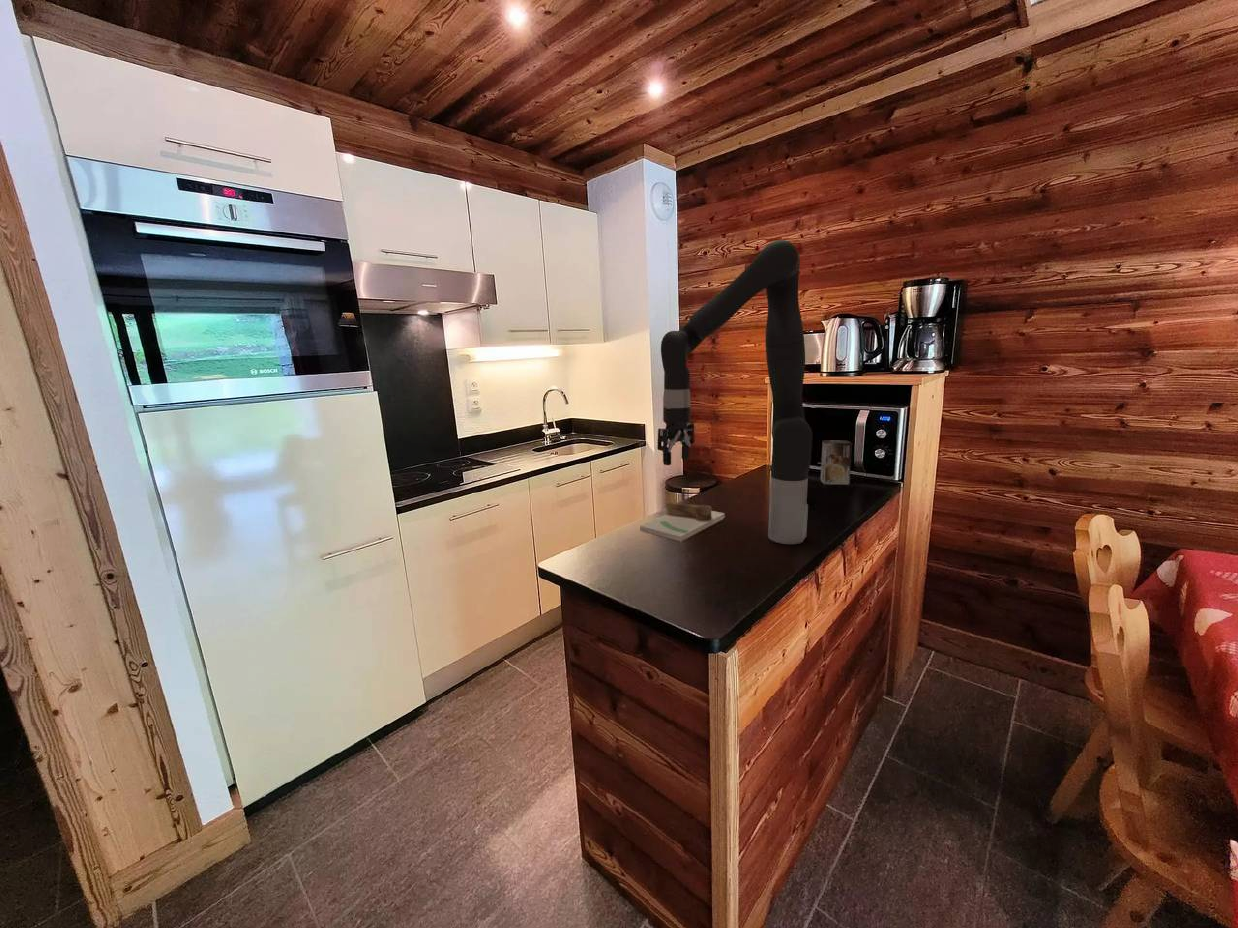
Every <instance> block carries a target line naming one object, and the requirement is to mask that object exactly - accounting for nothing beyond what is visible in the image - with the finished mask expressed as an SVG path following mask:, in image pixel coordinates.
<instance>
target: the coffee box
mask: <svg viewBox="0 0 1238 928" xmlns="http://www.w3.org/2000/svg"><path fill="white" fill-rule="evenodd" d="M852 449H853V443H852V442H851V441H849V440H846V439H845V440H844V439H840V440H837V439H836V440H835V439H834V440H831V439H830V440H829V439H826V440H825V439H823V440H822V449H821V465H820V466H821V467H820V481H821V482H822V483H823V485H847V486H849V485H850V483H851V482H850V481H851V467H852V466H851V463H852Z"/></svg>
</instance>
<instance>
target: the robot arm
mask: <svg viewBox="0 0 1238 928" xmlns="http://www.w3.org/2000/svg"><path fill="white" fill-rule="evenodd" d="M800 262H801V259H800V254H799V252H798V249H797V248H796V246H795V245H794V244H793V243H792V242H790V241H789V240H786V239H777V240H773V241H771V242H769V243H768V244H767V245H765V247H764V248H762V250H761V251H760V252H759V254H757V256H756V257H755V258H754V259H753V260H752V261H751V262H750V263H749V265H748V266H746V268H745V269H744V270H743V271H742V272H741V273H740V274H739V275H738V276H737V277H736V278H735V279H734V280H733V281H732V282H731V283H729V284H728V285H726V286H725V288H723V289H722V290H721V291H720V292H719V293H717V294H716V295H715V296H714V297H712V298H711V299H710V300H708V301H707V302H706V303H705V304H703V306H701V307H700V308H699V309H697V311H695V312H694V313H693V314H692V315H691V316H690V318H689V321H688V322H687V323H685V324H684V325H683V326H682V327H681V328H679V330H670V331H669V332H667V333H665V334H664V335H663V337H662V338H661V339H662V340H661V342H660V354H661V363H662V368H663V372H664V376H663V379H664V380H663V388H664V389H663V396H662V397H663V398H662V401H663V402H662V420H663V422H664V423H665V428H658V429H657V447H656V448H657V450H658V451H661V452H662V462H663V463H662V464H663V465H665V466H670V465H672V452H671V451H672V449H673V446H675V445H676V444H677V443H678V442H679V443H680V445H681V451H680V452H681V453H680V455H681V460H682V461H688V460H689V458H690V447H691V446H692V445H693V444H695V424H694V423H690V422H691V393H690V392H691V391H690V385H691V384H690V382H691V380H690V379H691V376H690V375H691V374H690V369H688V367H687V356H688V355H690V354H691V353H692V352H694V350H696V348H698V347H699V346H700V345H701V344H702V343H703V342H704V341H705V339H707V338H708V337H709V336H711V335H712V334H714V332H716V331H717V330H719V329H720V328H721V327H722V326H723V325H725V324H726V323H727V322H728V321H729V320H730V319H732V318H733V317H734V316H735V314H737V313H738V311H739V310H741V308H743V306H744V305H746V304H747V303H748V302H749V301H750V300H751V299H753V297H755V296H757V295H758V294H759V293H760V292H762V291H763V290H765V292H766V299H767V315H766V316H767V317H766V324H765V325H766V328H765V353H766V356H765V357H766V364H767V374H768V379H769V386H770V389H771V396H772V398H771V399H772V422H771V424H772V425H771V437H772V439H773V442H772V443H773V446H772V454H773V461H772V460H771V467H770V484H769V485H770V488H769V489H770V490H769V506H768V507H769V511H768V512H769V513H768V530H767V531H768V532H767V538H768V539H769V540H770V541H772V542H775V543H777V544H778V543H779V544H782V545H797V544H798V545H799V544H802V543H803V542H804V540H805V539H806V538H807V528H808V514H809V513H808V512H809V504H808V503H807V499H808V498H807V497H808V480H809V471H810V467H811V459H812V449H813V448H812V447H813V432H812V428H811V426H810V425H809V423H808V422H807V421H806V418H805V411H804V404H803V385H804V378H805V372H806V371H805V370H806V347H805V345H806V343H805V335H804V326H803V320H802V317H801V315H802V314H801V310H800V304H799V277H800V276H799V275H800V267H801V266H800V265H801V264H800Z"/></svg>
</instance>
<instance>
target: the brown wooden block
mask: <svg viewBox="0 0 1238 928" xmlns="http://www.w3.org/2000/svg"><path fill="white" fill-rule="evenodd" d="M712 509H713V508H712V506H711V505H708V504H699V505H698V504H689V503H683V502H675V501H667V502H666V514H671V515H679V516H686V517H693V518H697V519H699V520H710V519H711V511H712Z"/></svg>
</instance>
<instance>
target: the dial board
mask: <svg viewBox="0 0 1238 928" xmlns="http://www.w3.org/2000/svg"><path fill="white" fill-rule="evenodd" d="M724 519H725V513H724V512H721V511H720V512H718V511H715V510H711V519H710V520H699V519H697V518H693V517H686V516H679V515H671V514H667V513H666V514H663V515H661V516H659V517H657V518H654V519H652V520H650V521H648V522H645V523H643V524H640V527H639V530H640V532H644V533H647V534H651V535H655V536H658V537H663V538H666V539H669V540H673V541H676V542H683V541H685V540H687V539H688V538H691V537H692V536H694V535H696V534H698V533H700V532H701V531H703V530H705V529H707V528H709V527H711V526H712V525H715V524H717V523H718V522H720V521H722V520H724Z"/></svg>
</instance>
